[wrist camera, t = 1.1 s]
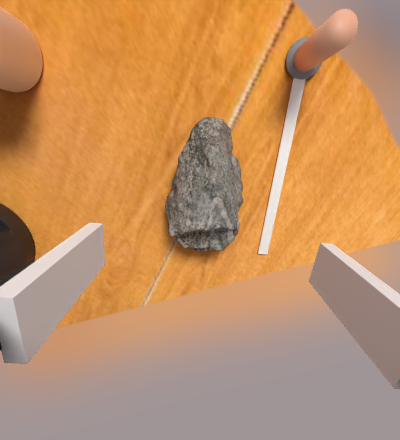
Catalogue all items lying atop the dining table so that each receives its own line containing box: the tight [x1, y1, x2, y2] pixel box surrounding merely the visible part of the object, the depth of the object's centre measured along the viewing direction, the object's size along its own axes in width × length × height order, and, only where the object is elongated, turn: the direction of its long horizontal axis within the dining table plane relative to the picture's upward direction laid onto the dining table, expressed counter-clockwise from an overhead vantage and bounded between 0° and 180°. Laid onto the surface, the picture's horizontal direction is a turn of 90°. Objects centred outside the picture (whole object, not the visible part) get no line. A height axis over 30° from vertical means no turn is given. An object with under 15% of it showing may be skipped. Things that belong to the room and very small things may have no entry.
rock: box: [165, 117, 243, 252], centre depth 30 cm, size 18×10×10 cm
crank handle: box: [258, 9, 358, 255], centre depth 28 cm, size 4×30×8 cm, turn 174°
